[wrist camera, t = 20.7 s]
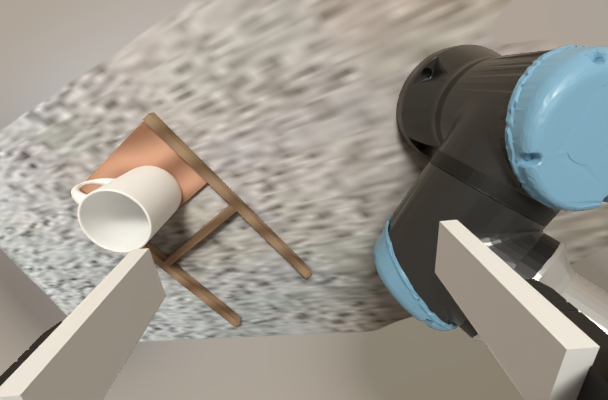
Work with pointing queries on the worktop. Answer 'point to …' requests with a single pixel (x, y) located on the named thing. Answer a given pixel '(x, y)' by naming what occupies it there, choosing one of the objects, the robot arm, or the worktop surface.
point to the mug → (127, 207)
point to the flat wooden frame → (185, 199)
